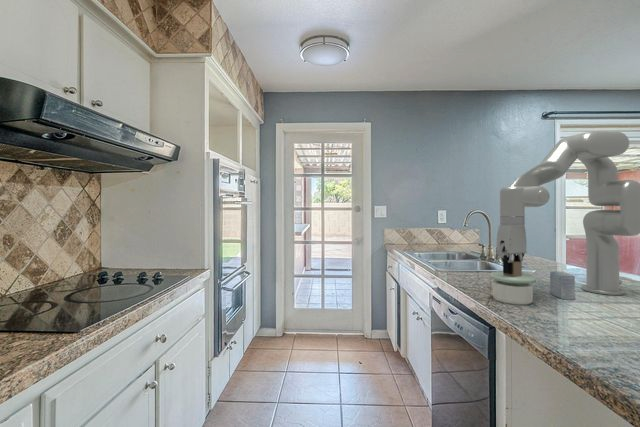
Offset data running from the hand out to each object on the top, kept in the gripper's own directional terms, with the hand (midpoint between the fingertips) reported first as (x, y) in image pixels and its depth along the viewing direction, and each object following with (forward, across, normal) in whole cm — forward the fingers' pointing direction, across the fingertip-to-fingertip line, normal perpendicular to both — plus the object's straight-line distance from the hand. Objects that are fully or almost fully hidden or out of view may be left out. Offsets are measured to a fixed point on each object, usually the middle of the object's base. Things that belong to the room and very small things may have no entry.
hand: (512, 272), depth 113 cm
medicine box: (+10, -20, +5) cm, 23 cm away
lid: (+2, 0, 0) cm, 2 cm away
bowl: (+10, 0, 0) cm, 10 cm away
